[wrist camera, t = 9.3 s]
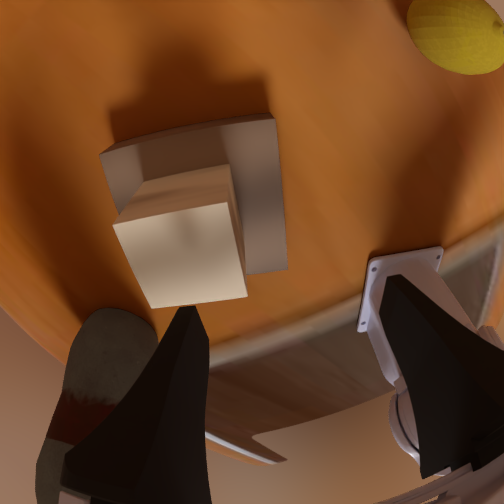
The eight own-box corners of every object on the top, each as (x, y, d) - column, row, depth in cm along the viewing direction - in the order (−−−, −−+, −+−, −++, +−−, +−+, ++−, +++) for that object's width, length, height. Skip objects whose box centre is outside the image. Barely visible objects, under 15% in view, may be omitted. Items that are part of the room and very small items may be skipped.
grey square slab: (281, 244, 22) (287, 269, 19) (156, 261, 22) (148, 286, 20) (268, 111, 16) (275, 118, 14) (117, 141, 16) (99, 154, 14)
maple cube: (244, 240, 18) (247, 296, 14) (168, 252, 18) (151, 308, 14) (229, 163, 15) (227, 202, 11) (143, 181, 15) (112, 224, 11)
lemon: (375, -7, 10) (453, -32, 4) (439, 3, 10) (520, -2, 3) (394, 68, 14) (479, 81, 7) (453, 70, 13) (536, 90, 7)
